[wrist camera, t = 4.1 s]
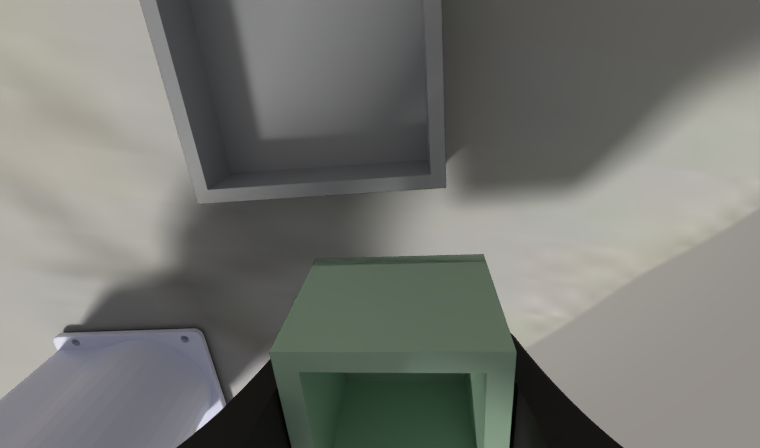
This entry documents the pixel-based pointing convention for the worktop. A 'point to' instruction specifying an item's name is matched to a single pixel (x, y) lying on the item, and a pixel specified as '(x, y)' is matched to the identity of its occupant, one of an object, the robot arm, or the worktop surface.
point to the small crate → (396, 355)
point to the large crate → (303, 94)
